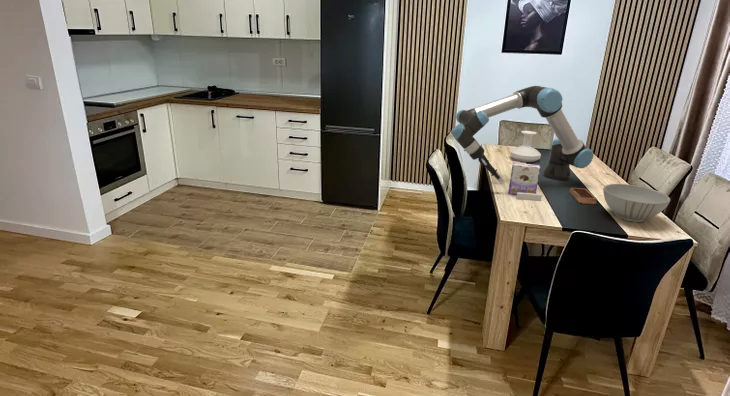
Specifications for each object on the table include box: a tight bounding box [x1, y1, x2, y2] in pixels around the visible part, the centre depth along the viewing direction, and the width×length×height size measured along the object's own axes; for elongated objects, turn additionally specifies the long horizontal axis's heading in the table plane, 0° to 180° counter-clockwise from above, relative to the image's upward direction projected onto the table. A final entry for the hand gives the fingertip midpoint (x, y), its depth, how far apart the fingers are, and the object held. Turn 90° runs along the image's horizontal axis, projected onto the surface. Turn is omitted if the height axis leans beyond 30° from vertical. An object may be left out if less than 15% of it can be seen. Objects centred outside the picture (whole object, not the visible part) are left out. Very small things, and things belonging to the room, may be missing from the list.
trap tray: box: [569, 187, 598, 205], centre depth 222 cm, size 8×16×3 cm, turn 173°
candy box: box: [507, 162, 541, 196], centre depth 223 cm, size 14×6×16 cm, turn 71°
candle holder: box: [509, 130, 542, 163], centre depth 290 cm, size 20×20×19 cm
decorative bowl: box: [602, 183, 671, 223], centre depth 199 cm, size 27×27×12 cm
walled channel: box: [515, 192, 543, 201], centre depth 225 cm, size 12×16×3 cm
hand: (502, 182), depth 225 cm, fingers closed
